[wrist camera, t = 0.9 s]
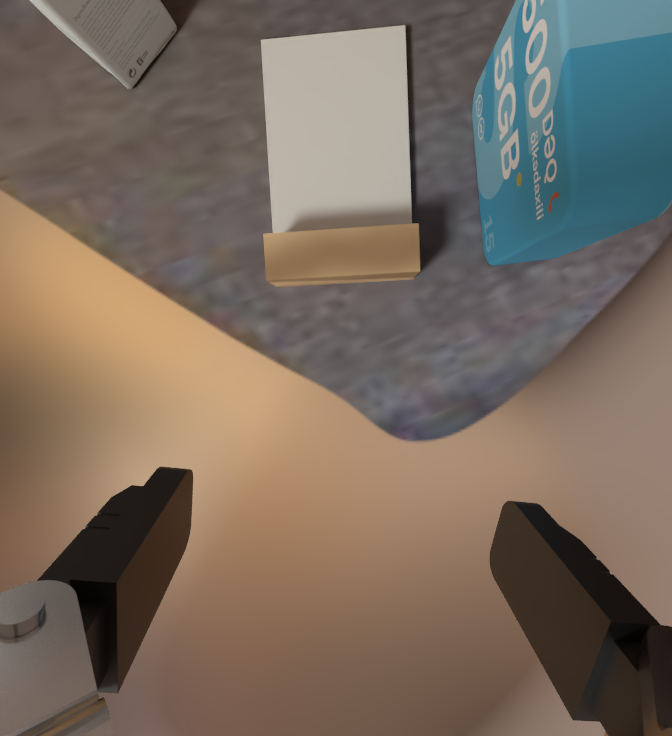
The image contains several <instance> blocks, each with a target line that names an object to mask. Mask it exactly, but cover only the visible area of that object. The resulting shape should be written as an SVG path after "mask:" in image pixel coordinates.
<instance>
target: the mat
mask: <svg viewBox="0 0 672 736" xmlns="http://www.w3.org/2000/svg"><path fill="white" fill-rule="evenodd" d="M261 50H262V66H263V82H264V98H265V114H266V131H267V147H268V163H269V179H270V195H271V211H272V228H273V233H283V232H297V231H312V230H326V229H341V228H355V227H370V226H384V225H399V224H412V207H411V178H410V148H409V119H408V89H407V60H406V31H405V25H402V26H392V27H382V28H372V29H362V30H353V31H343V32H333V33H323V34H314V35H304V36H294V37H284V38H275V39H265V40H261Z"/></svg>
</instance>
